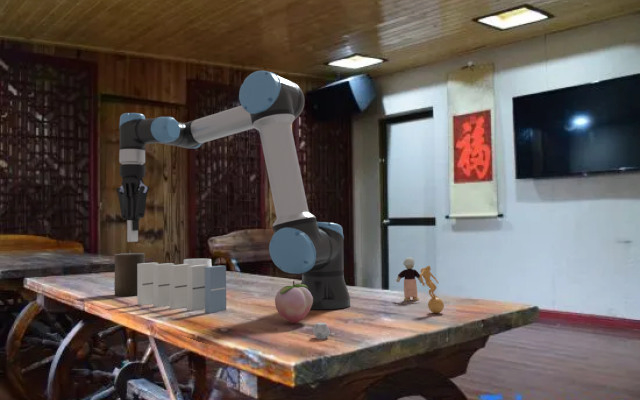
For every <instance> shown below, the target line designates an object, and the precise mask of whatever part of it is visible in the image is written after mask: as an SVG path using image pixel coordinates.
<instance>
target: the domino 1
mask: <svg viewBox="0 0 640 400" xmlns="http://www.w3.org/2000/svg"><path fill="white" fill-rule="evenodd" d="M155 264H159V262H154V261H153V262H145V263H141V264H137V295H136V296H137V298H136V299H137V306H146V305H152V304H153V265H155Z"/></svg>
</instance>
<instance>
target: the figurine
mask: <svg viewBox="0 0 640 400" xmlns="http://www.w3.org/2000/svg"><path fill="white" fill-rule="evenodd" d="M431 270H432V268H431V266H430V265H428V266H426V267H423V268H421V269H420V273H419V274H420V278H421V281H422V283H421V284H422V286H423V287H426V286H427V287H428V288H429V290H428V294H429V296H430V297H431V298H430V299H429V301H428V302H427V308H428V310H429V311H430V312H431V313H434V314H440V313H441V312H442V311H443V310H444V309H445V308H444V307H445V305H444V304H445V303H444V300H442V299H441V298H439V296H437V295H436V294H435V293H434V292H435V291H436V289H437V285H436V284H439V281H438V280H437V278H436V277H435V276H434V274H433V273H432V272H431ZM431 277H432V279H434V280H435V282H436V284H435V283H434V282H433V280H432V279H431ZM424 281H425V282H424Z"/></svg>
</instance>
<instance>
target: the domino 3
mask: <svg viewBox="0 0 640 400" xmlns="http://www.w3.org/2000/svg"><path fill="white" fill-rule="evenodd" d="M187 266H191V264H184V263H181V264H174V265H169V275H170V305H169V309H170V310H171V309H172V310H177V309H182V308H183V309H184V308H187Z"/></svg>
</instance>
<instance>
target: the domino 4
mask: <svg viewBox="0 0 640 400" xmlns="http://www.w3.org/2000/svg"><path fill="white" fill-rule="evenodd" d="M205 267H208V265H195V266H187V307H186V311H189V312H195V311H200V310H205Z"/></svg>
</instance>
